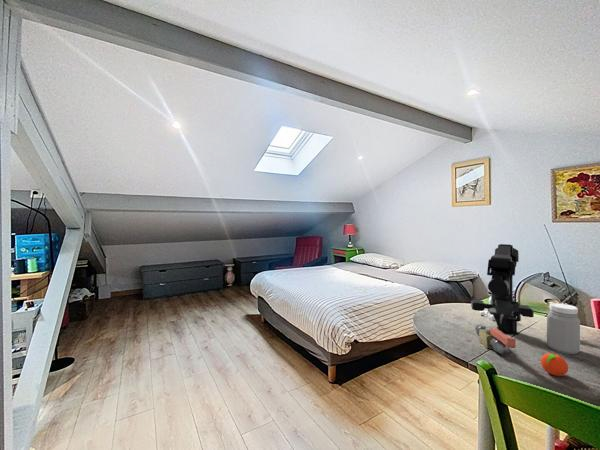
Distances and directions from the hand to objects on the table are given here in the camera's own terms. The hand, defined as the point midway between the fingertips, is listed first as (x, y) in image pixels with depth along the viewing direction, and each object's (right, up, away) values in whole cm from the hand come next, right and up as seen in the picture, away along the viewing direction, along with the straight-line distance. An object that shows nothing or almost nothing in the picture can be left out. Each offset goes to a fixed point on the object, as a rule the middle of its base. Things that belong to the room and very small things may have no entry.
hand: (500, 330), depth 104 cm
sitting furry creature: (+27, -10, +43) cm, 52 cm away
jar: (+31, -11, +7) cm, 33 cm away
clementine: (+10, -11, -11) cm, 19 cm away
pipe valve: (+4, -11, +11) cm, 16 cm away
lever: (+3, -5, +4) cm, 7 cm away
